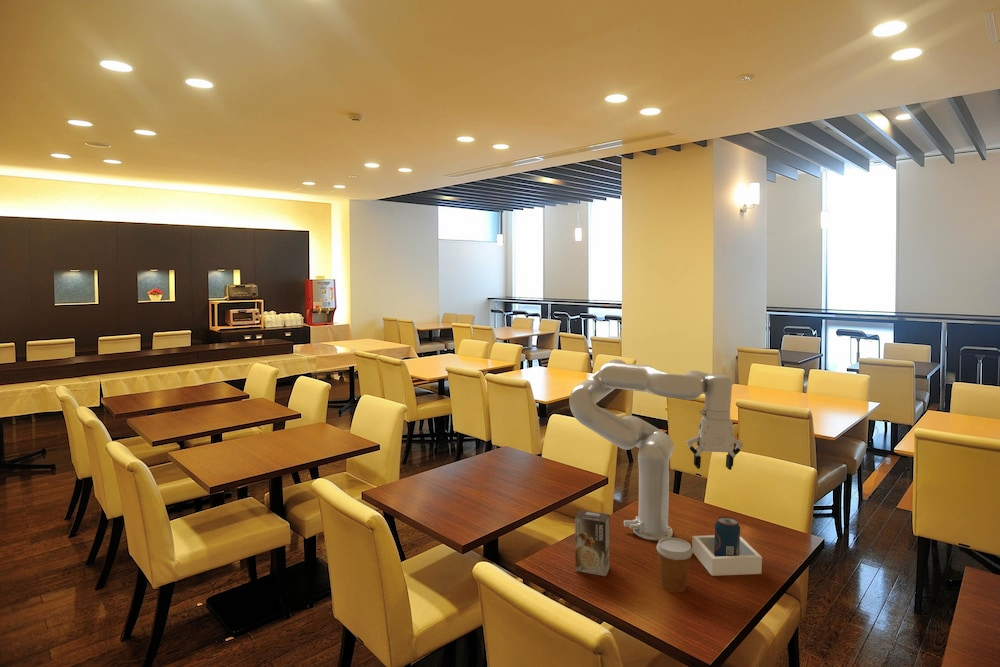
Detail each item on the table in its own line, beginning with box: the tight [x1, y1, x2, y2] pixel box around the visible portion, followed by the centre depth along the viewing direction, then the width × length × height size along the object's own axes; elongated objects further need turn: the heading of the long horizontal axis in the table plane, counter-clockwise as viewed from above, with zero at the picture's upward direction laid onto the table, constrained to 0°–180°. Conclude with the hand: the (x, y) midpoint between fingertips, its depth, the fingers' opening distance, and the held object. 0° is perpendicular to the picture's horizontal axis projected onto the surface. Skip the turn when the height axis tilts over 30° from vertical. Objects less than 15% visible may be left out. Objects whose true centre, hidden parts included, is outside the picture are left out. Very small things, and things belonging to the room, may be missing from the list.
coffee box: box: [574, 509, 610, 577], centre depth 169 cm, size 9×6×16 cm
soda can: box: [714, 516, 741, 557], centre depth 173 cm, size 7×7×12 cm
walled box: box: [691, 534, 763, 577], centre depth 173 cm, size 14×14×5 cm
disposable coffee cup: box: [656, 537, 694, 593], centre depth 159 cm, size 10×10×12 cm
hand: (713, 467), depth 183 cm, fingers open, 9 cm apart
